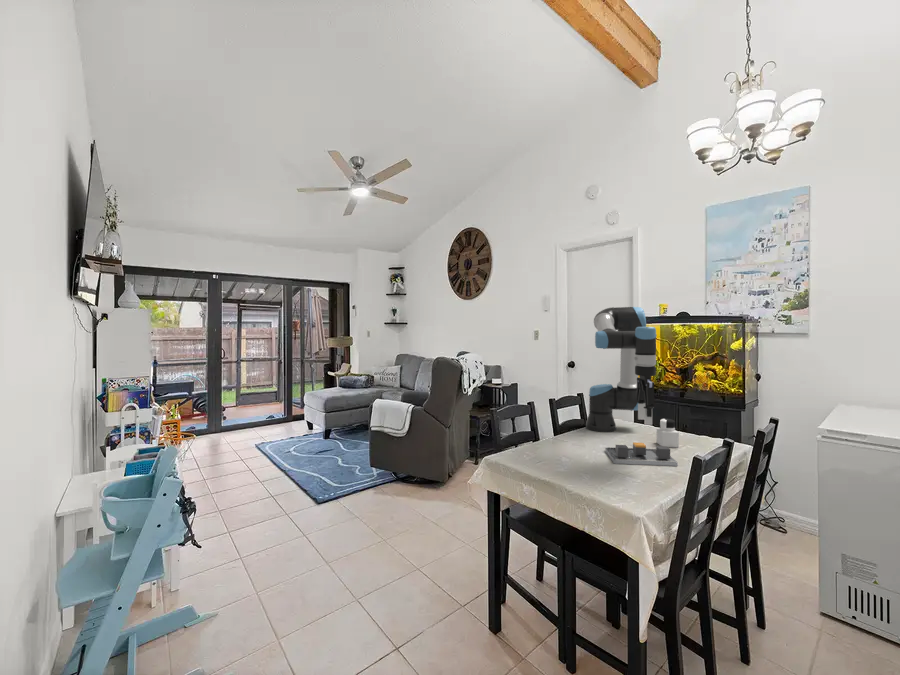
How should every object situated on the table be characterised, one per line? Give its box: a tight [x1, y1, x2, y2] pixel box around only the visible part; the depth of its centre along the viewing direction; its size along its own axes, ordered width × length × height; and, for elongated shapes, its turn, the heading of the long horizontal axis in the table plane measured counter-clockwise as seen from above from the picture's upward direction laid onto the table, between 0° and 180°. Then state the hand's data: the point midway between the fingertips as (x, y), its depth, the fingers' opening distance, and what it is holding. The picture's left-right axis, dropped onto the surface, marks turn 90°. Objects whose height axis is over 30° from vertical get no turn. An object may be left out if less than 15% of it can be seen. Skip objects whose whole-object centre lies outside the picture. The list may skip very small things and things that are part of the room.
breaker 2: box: [655, 445, 671, 459], centre depth 166 cm, size 4×4×4 cm
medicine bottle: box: [655, 418, 680, 448], centre depth 188 cm, size 7×7×12 cm
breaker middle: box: [632, 442, 647, 455], centre depth 171 cm, size 4×4×4 cm
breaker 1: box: [615, 444, 629, 458], centre depth 168 cm, size 4×4×4 cm
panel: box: [604, 447, 679, 467], centre depth 171 cm, size 16×24×2 cm, turn 81°
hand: (644, 421), depth 163 cm, fingers open, 8 cm apart
